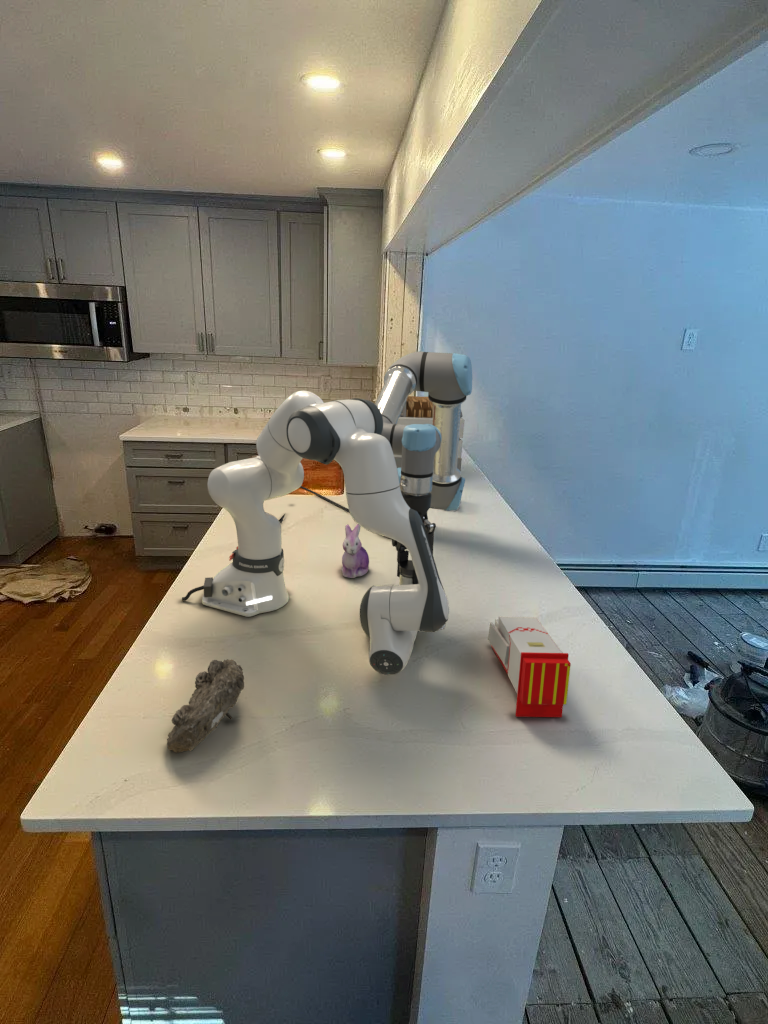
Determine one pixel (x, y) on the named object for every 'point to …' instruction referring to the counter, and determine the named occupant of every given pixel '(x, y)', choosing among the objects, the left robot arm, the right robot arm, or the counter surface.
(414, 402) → the transformer
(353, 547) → the figurine
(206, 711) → the fossil
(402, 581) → the thermos bottle
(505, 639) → the toy
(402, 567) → the lid
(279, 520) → the feather
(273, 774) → the counter surface
